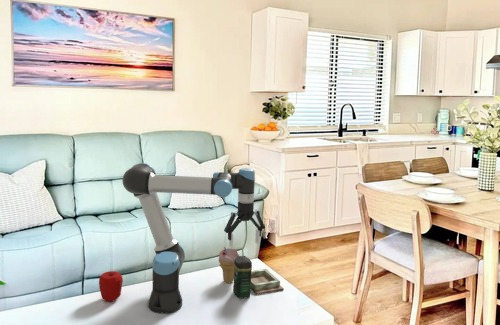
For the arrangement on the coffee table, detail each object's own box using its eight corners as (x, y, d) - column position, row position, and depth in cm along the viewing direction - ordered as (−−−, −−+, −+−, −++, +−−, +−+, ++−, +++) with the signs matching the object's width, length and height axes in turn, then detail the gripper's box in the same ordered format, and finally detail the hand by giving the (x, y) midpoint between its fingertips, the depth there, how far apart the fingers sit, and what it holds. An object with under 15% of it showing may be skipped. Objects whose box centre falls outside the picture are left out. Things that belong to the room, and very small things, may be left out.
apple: (125, 301, 196) (125, 274, 193) (102, 306, 190) (101, 278, 188) (119, 292, 205) (119, 265, 202) (97, 296, 199) (96, 269, 197)
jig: (256, 294, 208) (256, 288, 207) (238, 276, 227) (239, 270, 227) (283, 290, 214) (283, 283, 213) (264, 272, 234) (264, 266, 233)
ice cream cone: (236, 287, 215) (237, 249, 211) (215, 284, 217) (216, 247, 214) (241, 278, 225) (242, 242, 222) (221, 275, 227) (222, 239, 224)
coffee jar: (252, 298, 204) (254, 261, 201) (236, 299, 202) (237, 262, 199) (246, 289, 213) (248, 253, 210) (231, 290, 211) (232, 254, 208)
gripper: (223, 205, 191) (222, 250, 195) (273, 201, 202) (271, 244, 205) (218, 201, 198) (217, 245, 202) (266, 197, 209) (264, 239, 212)
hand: (244, 244), depth 204 cm, fingers open, 13 cm apart
